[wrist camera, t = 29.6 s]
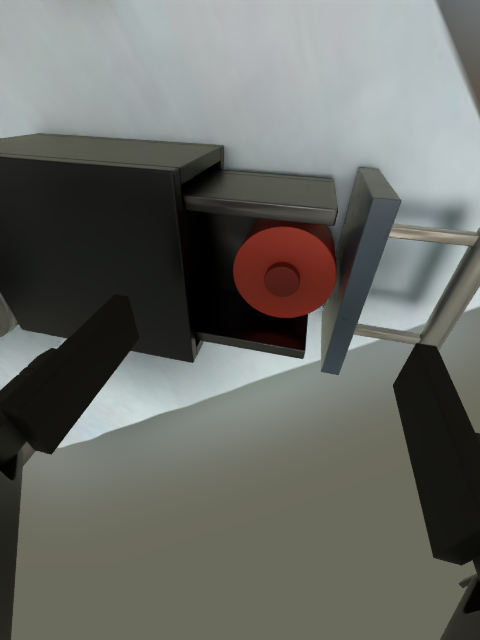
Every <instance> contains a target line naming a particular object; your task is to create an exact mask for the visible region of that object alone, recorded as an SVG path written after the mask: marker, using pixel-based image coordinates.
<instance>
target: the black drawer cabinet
mask: <svg viewBox="0 0 480 640" xmlns="http://www.w3.org/2000/svg"><path fill="white" fill-rule="evenodd" d="M206 169H211V170H223V171H224V147H223V145H210V144H195V143H179V142H164V141H149V140H133V139H118V138H102V137H87V136H72V135H56V134H41V133H38V134H33V135H32V134H31V135H23V136H16V137H8V138H1V139H0V293H1V294H2V296H3V298H4V300H5V301H6V303H7V305H8V306H9V308H10V310H11V312H12V313H13V315H14V317H15V318H16V320H17V322H18V324H19V325H20V327H21V329H22V330H27V331H32V332H37V333H42V334H47V335H52V336H58V337H63V338H69V337H70V336H71V335H72V334H73V333H74V332H75V331H76V330H78V329H79V328H80V327H81V326H82V325H83V324H84V323H85V322H86V321H87V320H88V319H89V318H90V317H91V316H92V315H93V314H94V313H95V312H96V311H97V310H99V309H100V308H101V307H102V306H103V305H104V304H105V303H106V302H107V301H108V300H109V299H110V298H111V297H112V296H113V295H114V294H116V295H122V296H128V297H129V300H130V304H131V308H132V311H133V315H134V319H135V323H136V327H137V331H138V335H139V340H138V341H137V342H136V344H135V345H134V346H133V348H132V349H131V350H130V351H134V352H140V353H145V354H150V355H155V356H160V357H165V358H170V359H175V360H181V361H186V362H191V363H193V362H194V360H195V358H196V356H197V355H198V353H199V351H200V349H201V347H202V344H203V342H204V341H201V340H195V333H194V322H193V312H192V301H191V291H190V280H189V270H188V260H187V249H186V239H185V228H184V218H183V207H182V197H181V186H180V185H182V184H184V183H185V182H187V181H188V180H190V179H191V178H193V177H195V176H196V175H198V174H199V173H201V172H203V171H204V170H206Z"/></svg>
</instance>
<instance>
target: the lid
mask: <svg viewBox="0 0 480 640" xmlns="http://www.w3.org/2000/svg"><path fill="white" fill-rule="evenodd" d="M336 273H337V271H336V256H335V245H334V240H333V237H332V235H331V233H330V231H329V229H328V228H327V226H326V225H320V224H311V223H301V222H292V221H282V220H273V219H263V218H260V219H259V220H258V221H257V222H256V223H255V224H254V225H253V226H252V228H251V229H250V231H249V233H248V234H247V236H246V238H245V240H244V242H243V243H242V245H241V247H240V249H239V251H238V252H237V255H236V257H235V261H234V266H233V275H234V281H235V284H236V287H237V289H238V291H239V293H240V294H241V296H242V297H243V298H244V299H245V301H246V302H247V303H248V304H250V305H251V306H252V307H253V308H255V309H256V310H258V311H260V312H262V313H264V314H267V315H270V316H274V317H280V318H293V317H299V316H303V315H306V314H308V313H310V312H313V311H314V310H316V309H317V308H319V307H320V306H321V305H322V304H323V303H324V302H325V301H326V300H327V299H328V298H329V296H330V295H331V293H332V291H333V289H334V286H335V282H336Z"/></svg>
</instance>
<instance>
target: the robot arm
mask: <svg viewBox="0 0 480 640" xmlns="http://www.w3.org/2000/svg"><path fill="white" fill-rule="evenodd" d="M17 324H18V322H17V320H16V318H15V317H14V315H13V313H12V312H11V310H10V308H9V306H8V305H7V303H6V301H5V300H4V298H3V296H2V294H1V293H0V337H2V336H3V335H5V334H6V333H7V332H9V331H10V330H11V329H13V328H14V327H15V326H16V325H17ZM138 340H139V335H138V331H137V327H136V323H135V319H134V315H133V311H132V308H131V304H130V300H129V297H128V296H122V295H116V294H114V295H113V296H112V297H111V298H110V299H109V300H108V301H107V302H106V303H105V304H104V305H103V306H102V307H101V308H100V309H99V310H97V311H96V312H95V313H94V314H93V315H92V316H91V317H90V318H89V319H88V320H87V321H86V322H85V323H84V324H83V325H82V326H81V327H80V328H79V329H78V330H76V331H75V332H74V333H73V334H72V335H71V336H70V337H69V338H68V339H67V340H66V341H65V342H64V343H63V344H62V345H61V346H60V347H59V348H58V349H54V348H51V349H49V350H48V351H46V352H44V353H42V354H40V355H39V356H37V357H36V358H35V359H34V360H33V361H32V362H31V363H30V364H29V365H28V367H25V368H24V369H23V370H22V371H21V372H20V374H19V375H17V376H16V377H14V378H13V379H12V380H11V381H10V382H9V383H8V384H7V385H6V386H5V387H4V388H2V389H1V390H0V640H11V629H12V616H13V601H14V586H15V571H16V557H17V542H18V528H19V513H20V512H19V511H20V498H21V484H22V469H23V450H22V449H21V448H22V447H23V446H24V445H25V443H26V442H28V444H29V445H30V446H31V447H32V448H33V450H36V451H40V452H44V453H47V454H52V453H53V452H54V451H55V449H56V448H57V447H58V445H59V444H60V443H61V441H62V440H63V439H64V437H65V436H66V435H67V433H68V432H69V431H70V429H71V428H72V427H73V426H74V424H75V423H76V422H77V420H78V419H79V418H80V416H81V415H82V414H83V412H84V411H85V410H86V408H87V407H88V406H89V404H90V403H91V402H92V400H93V399H94V398H95V396H96V395H97V394H98V393H99V391H100V390H101V389H102V387H103V386H104V385H105V383H106V382H107V381H108V379H109V378H110V377H111V375H112V374H113V373H114V371H115V370H116V369H117V367H118V366H119V365H120V363H121V362H122V361H123V359H124V358H125V357H126V356H127V354H128V353H129V352H130V350H131V349H132V348H133V346H134V345H135V344H136V342H137V341H138ZM393 388H394V393H395V396H396V401H397V405H398V409H399V414H400V418H401V422H402V426H403V431H404V435H405V439H406V443H407V447H408V452H409V456H410V460H411V465H412V469H413V473H414V477H415V481H416V485H417V490H418V494H419V499H420V503H421V507H422V511H423V515H424V519H425V523H426V528H427V532H428V537H429V541H430V545H431V549H432V554H433V557H434V558H436V559H440V560H443V561H447V562H451V563H455V564H459V565H463V564H465V563H467V562H470V561H471V560H473V563H474V566H475V569H476V572H477V574H475V575H472V576H470V577H468V578H465V579H464V580H462V581H461V582H460V583H459V585H460V586H461V587H462V588H464V587H466V586H468V587H467V589H466V591H465V593H464V595H463V597H462V599H461V601H460V602H459V604H458V606H457V608H456V610H455V612H454V614H453V616H452V618H451V620H450V622H449V623H448V625H447V627H446V629H445V631H444V633H443V635H442V637H441V639H440V640H480V434H479V433H475V431H474V429H473V427H472V425H471V422H470V420H469V418H468V416H467V413H466V411H465V409H464V407H463V405H462V402H461V400H460V398H459V396H458V393H457V391H456V389H455V387H454V384H453V382H452V380H451V378H450V375H449V373H448V371H447V369H446V366H445V364H444V362H443V360H442V357H441V355H440V353H439V351H438V348H437V346H433V345H427V344H421V343H416V345H415V347H414V348H413V350H412V352H411V354H410V356H409V357H408V359H407V361H406V363H405V364H404V366H403V368H402V370H401V372H400V373H399V375H398V377H397V379H396V381H395V382H394V384H393Z"/></svg>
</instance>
